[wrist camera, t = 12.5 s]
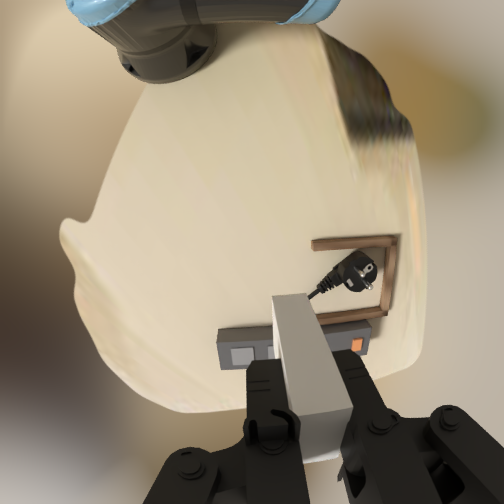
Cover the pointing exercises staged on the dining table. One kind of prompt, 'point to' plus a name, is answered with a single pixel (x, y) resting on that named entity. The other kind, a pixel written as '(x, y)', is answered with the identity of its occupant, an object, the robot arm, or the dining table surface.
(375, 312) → the bay
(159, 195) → the dining table surface
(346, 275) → the power plug
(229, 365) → the power strip
